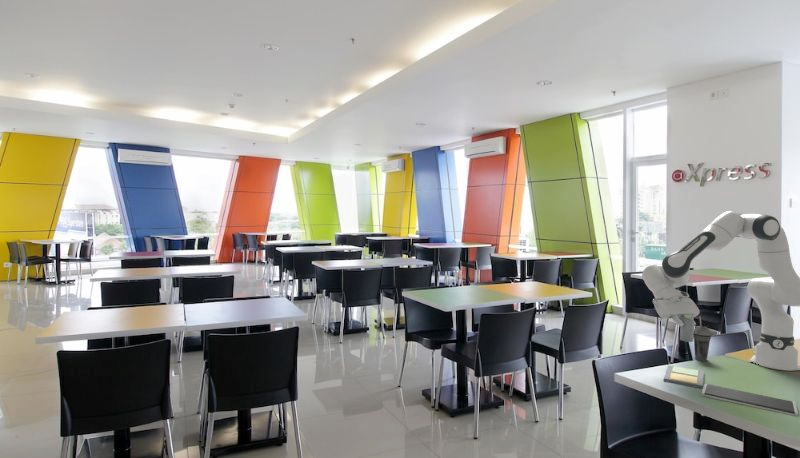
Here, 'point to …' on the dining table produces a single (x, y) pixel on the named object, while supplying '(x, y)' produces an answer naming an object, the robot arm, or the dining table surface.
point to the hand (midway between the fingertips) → (688, 325)
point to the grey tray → (750, 399)
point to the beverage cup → (701, 341)
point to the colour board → (684, 376)
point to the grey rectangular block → (687, 329)
